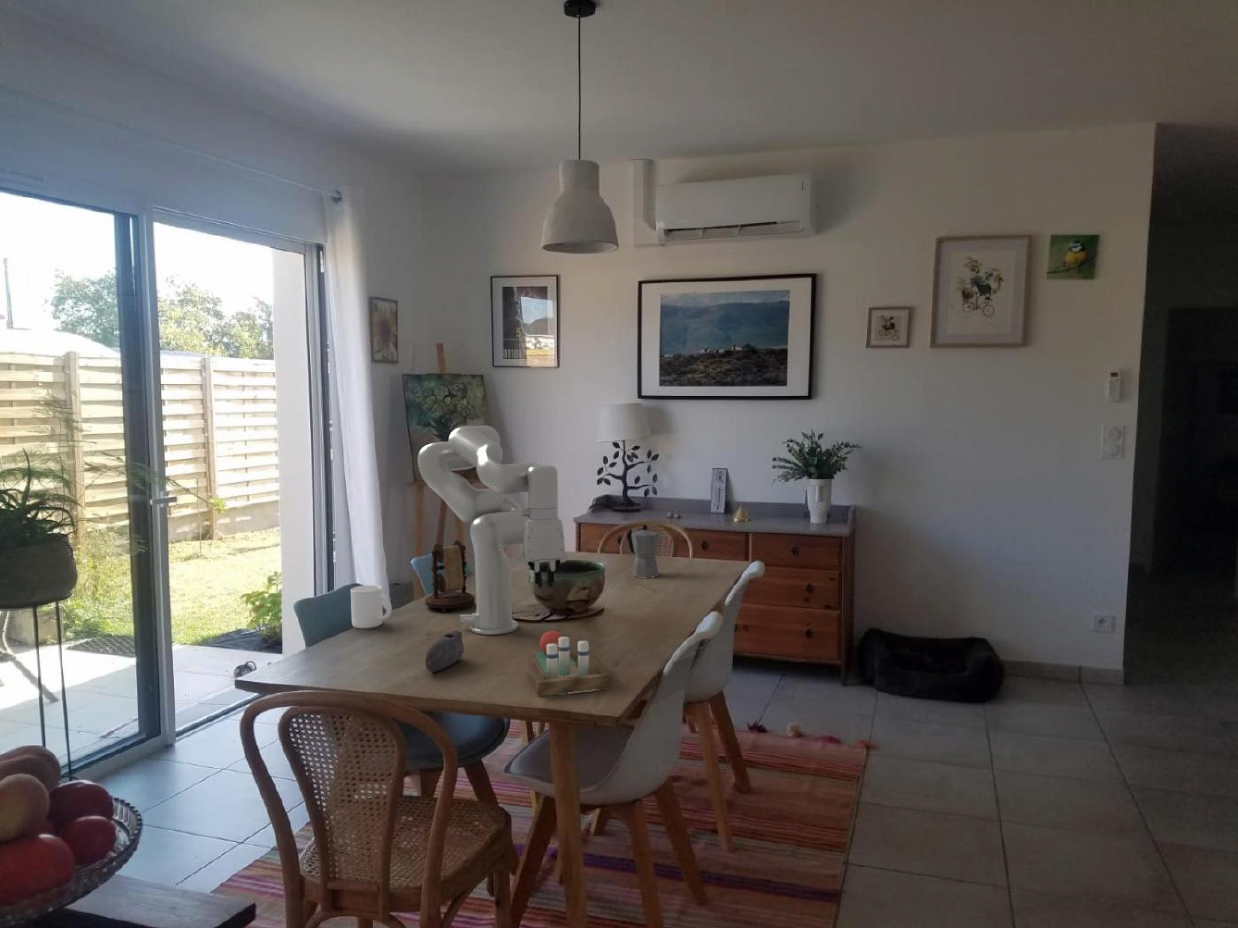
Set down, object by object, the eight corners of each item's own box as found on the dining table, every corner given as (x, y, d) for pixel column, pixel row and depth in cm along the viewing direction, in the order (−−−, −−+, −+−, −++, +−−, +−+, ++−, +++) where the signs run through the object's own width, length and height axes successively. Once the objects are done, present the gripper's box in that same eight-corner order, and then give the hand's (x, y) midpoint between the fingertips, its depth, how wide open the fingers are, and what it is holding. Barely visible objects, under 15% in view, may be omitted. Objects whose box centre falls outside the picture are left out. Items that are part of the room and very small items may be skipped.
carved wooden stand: (440, 615, 240) (438, 547, 238) (416, 606, 251) (414, 541, 250) (484, 606, 250) (482, 541, 248) (459, 598, 261) (457, 535, 259)
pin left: (547, 684, 182) (546, 646, 181) (547, 680, 184) (546, 643, 184) (558, 684, 182) (557, 646, 181) (558, 680, 185) (557, 643, 184)
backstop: (538, 696, 175) (537, 682, 175) (527, 675, 188) (527, 662, 188) (611, 688, 179) (611, 675, 179) (596, 668, 192) (596, 655, 192)
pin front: (559, 676, 187) (558, 640, 186) (559, 673, 189) (558, 636, 189) (569, 676, 187) (569, 639, 186) (569, 672, 190) (569, 636, 189)
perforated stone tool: (436, 678, 188) (435, 648, 187) (416, 675, 189) (415, 645, 189) (469, 657, 202) (469, 629, 201) (450, 655, 203) (450, 628, 203)
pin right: (578, 681, 184) (577, 644, 183) (578, 677, 186) (577, 640, 185) (589, 681, 184) (588, 643, 183) (588, 677, 186) (588, 640, 186)
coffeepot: (668, 576, 289) (668, 525, 287) (649, 580, 282) (649, 528, 281) (636, 570, 300) (636, 520, 298) (618, 574, 293) (617, 523, 292)
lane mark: (534, 653, 204) (534, 652, 204) (566, 650, 206) (566, 649, 206) (557, 695, 175) (557, 694, 175) (594, 691, 177) (594, 690, 177)
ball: (540, 659, 199) (539, 634, 199) (540, 651, 205) (539, 628, 205) (564, 658, 200) (564, 634, 200) (564, 650, 206) (563, 627, 205)
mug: (400, 623, 233) (398, 586, 232) (382, 631, 225) (381, 593, 224) (364, 619, 237) (363, 584, 236) (345, 627, 229) (344, 590, 228)
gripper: (513, 517, 203) (515, 591, 205) (577, 514, 208) (578, 587, 209) (509, 513, 211) (511, 585, 212) (570, 510, 215) (572, 580, 216)
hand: (544, 585), depth 211 cm, fingers closed
